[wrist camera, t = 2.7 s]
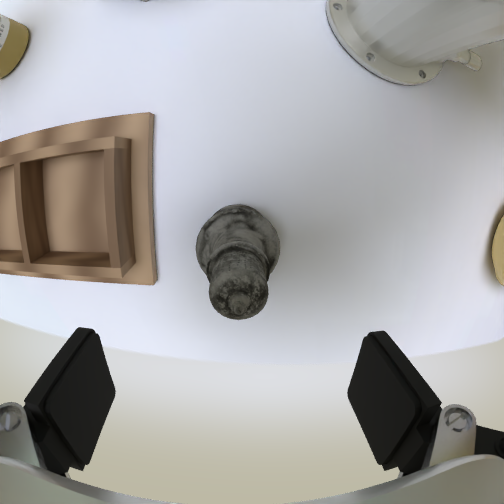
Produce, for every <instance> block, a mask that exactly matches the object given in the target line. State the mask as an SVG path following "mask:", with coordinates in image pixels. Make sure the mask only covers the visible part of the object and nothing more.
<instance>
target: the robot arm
mask: <svg viewBox="0 0 504 504" xmlns="http://www.w3.org/2000/svg"><path fill="white" fill-rule="evenodd" d="M326 12H327V17H328V21H329V24H330V26H331V28H332V30H333V33H334V34H335V36H336V37H337V39H338V40H339V42H340V43H341V45H342V46H343V47H344V48H345V49H346V50H347V52H348V53H349V54H350V55H351V56H352V57H353V58H354V59H355V60H357V61H358V62H359V63H360V64H361V65H362V66H364V67H365V68H367V69H368V70H369V71H371V72H372V73H374V74H376V75H378V76H380V77H381V78H383V79H386V80H389V81H391V82H394V83H398V84H403V85H416V84H420V83H424V82H427V81H429V80H432V79H433V78H434V77H435V76H437V75H438V73H439V72H440V70H441V69H442V66H443V63H444V61H446V60H451V61H453V62H457V61H460V62H461V63H462V64H464V65H465V66H467V67H469V68H471V69H473V70H475V71H477V70H479V69H480V68H481V65H482V60H481V58H480V57H479V56H478V55H476V54H475V53H473V52H472V51H470V50H468V49H471V48H475V47H478V46H482V45H485V44H489V43H492V42H496V41H500V40H504V0H327V2H326ZM347 393H348V399H349V401H350V403H351V405H352V408H353V410H354V412H355V414H356V416H357V419H358V421H359V423H360V425H361V428H362V430H363V432H364V434H365V436H366V438H367V441H368V443H369V445H370V448H371V450H372V452H373V455H374V457H375V459H376V461H377V463H378V464H379V465H382V466H383V469H384V471H386V470H389V469H392V468H395V467H398V468H399V470H400V473H399V475H398V478H397V479H395V480H392V481H389V482H386V483H383V484H379V485H375V486H372V487H369V488H365V489H362V490H358V491H354V492H350V493H345V494H341V495H336V496H332V497H327V498H321V499H315V500H309V501H302V502H294V503H285V504H504V432H501V431H497V430H493V429H489V428H485V427H481V426H478V425H476V418H475V416H474V414H473V413H472V412H471V411H470V409H468V408H467V407H465V406H462V405H457V404H452V405H448V406H446V407H445V408H444V409H442V408H441V407H440V405H441V403H442V402H441V401H440V400H439V398H438V397H437V396H436V394H435V393H434V392H433V390H432V389H431V388H430V386H429V385H428V384H427V383H426V381H425V380H424V379H423V378H422V376H421V375H420V374H419V372H418V371H417V370H416V368H415V367H414V366H413V365H412V363H411V362H410V361H409V360H408V358H407V357H406V356H405V355H404V353H403V352H402V351H401V350H400V348H399V347H398V346H397V345H396V344H395V342H394V341H393V340H392V339H391V337H390V336H389V335H388V334H387V333H386V332H385V331H376V332H370V333H369V334H368V335H367V336H366V337H364V339H363V342H362V345H361V349H360V352H359V356H358V359H357V363H356V366H355V369H354V372H353V375H352V379H351V382H350V385H349V388H348V392H347ZM114 398H115V387H114V384H113V381H112V378H111V375H110V371H109V368H108V365H107V362H106V359H105V355H104V351H103V348H102V344H101V340H100V337H99V335H98V334H97V333H95V331H94V330H93V329H89V328H82V327H79V328H77V329H76V330H75V332H74V333H73V334H72V335H71V337H70V338H69V339H68V340H67V342H66V343H65V344H64V346H63V347H62V348H61V350H60V351H59V352H58V353H57V355H56V356H55V357H54V359H53V360H52V361H51V363H50V364H49V365H48V367H47V368H46V370H45V371H44V372H43V374H42V375H41V377H40V378H39V379H38V381H37V382H36V384H35V385H34V387H33V388H32V389H31V391H30V393H29V394H28V395H27V397H26V398H25V400H24V402H25V406H24V407H22V406H21V405H19V404H18V403H14V402H8V403H4V404H2V405H0V504H180V503H171V502H164V501H157V500H151V499H145V498H139V497H134V496H129V495H125V494H121V493H117V492H113V491H109V490H104V489H101V488H98V487H94V486H91V485H87V484H84V483H81V482H78V481H75V480H72V479H71V478H70V476H69V473H68V470H69V467H72V468H75V469H78V470H81V471H83V469H84V466H85V465H88V464H89V463H90V460H91V457H92V454H93V452H94V449H95V446H96V444H97V441H98V438H99V436H100V433H101V430H102V428H103V425H104V423H105V420H106V417H107V415H108V412H109V410H110V407H111V405H112V403H113V400H114Z"/></svg>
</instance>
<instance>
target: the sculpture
mask: <svg viewBox="0 0 504 504" xmlns="http://www.w3.org/2000/svg"><path fill="white" fill-rule="evenodd" d="M492 259H493V264H494V268H495V274H496V278H497V279H498V281H499V282H500V284H501V285H503V286H504V215H503V217H502V218H501V220H500V223H499V225H498V227H497V230H496V233H495V236H494V240H493V245H492Z"/></svg>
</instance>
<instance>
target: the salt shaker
mask: <svg viewBox="0 0 504 504" xmlns="http://www.w3.org/2000/svg"><path fill="white" fill-rule="evenodd" d="M279 253H280V244H279V239H278V236H277V233H276V231H275V229H274V228H273V226H272V225H271V223H270V222H269V221H268V220H267V219H266V218H264V217H263V216H262V215H261V214H260V213H259V212H258V211H257V210H255V209H253V208H251V207H249V206H245V205H230V206H227V207H224V208H222V209H220V210H219V211H218V212H216V213H215V214H214V215H213V216H212V217H211V218H210V219H209V220H208V221H207V222H206V223H205V224H204V226H203V227H202V228H201V230H200V233H199V235H198V237H197V243H196V254H197V260H198V262H199V264H200V267H201V269H202V270H203V271H204V273H205V274H206V275H207V278H208V280H209V282H210V287H209V297H210V301H211V303H212V305H213V307H214V308H215V310H216V311H217V312H218V313H220V314H221V315H223V316H225V317H227V318H230V319H236V320H241V319H247V318H251V317H253V316H255V315H256V314H258V313H259V312H260V311H261V310H262V309H263V308H264V306H265V304H266V302H267V298H268V285H267V281H268V279H269V275H270V273H271V272H272V271H273V269H274V268H275V266H276V264H277V262H278V258H279Z"/></svg>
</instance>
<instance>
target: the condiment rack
mask: <svg viewBox="0 0 504 504" xmlns="http://www.w3.org/2000/svg"><path fill="white" fill-rule="evenodd" d="M153 122H154V114H152V113H150V112H147V113H137V114H128V115H119V116H112V117H105V118H98V119H92V120H86V121H81V122H76V123H71V124H66V125H61V126H56V127H52V128H48V129H44V130H40V131H36V132H32V133H28V134H25V135H21V136H18V137H15V138H11V139H8V140H5V141H2V142H0V273H1V274H10V275H20V276H30V277H40V278H52V279H63V280H76V281H90V282H104V283H120V284H138V285H154V284H155V282H156V281H157V271H156V259H155V244H154V226H153V197H152V151H153Z"/></svg>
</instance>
